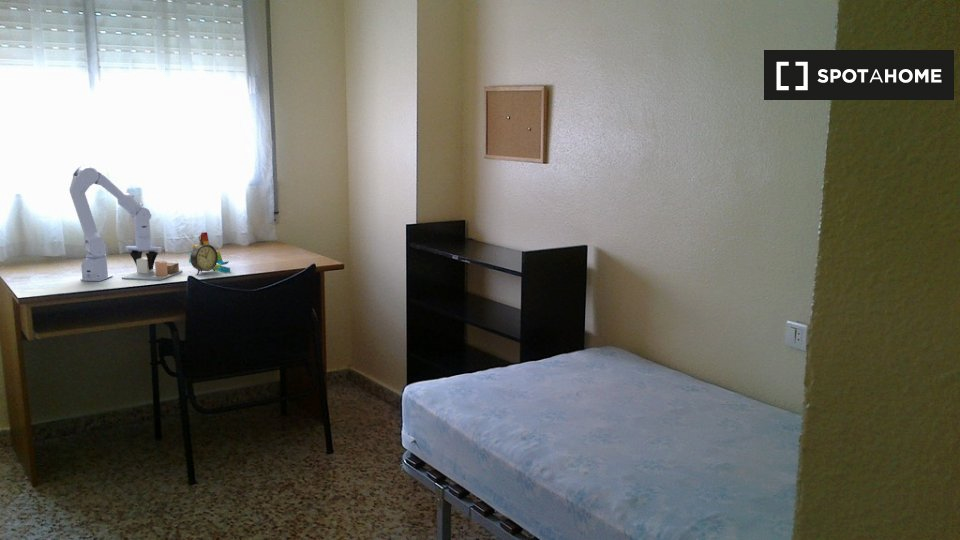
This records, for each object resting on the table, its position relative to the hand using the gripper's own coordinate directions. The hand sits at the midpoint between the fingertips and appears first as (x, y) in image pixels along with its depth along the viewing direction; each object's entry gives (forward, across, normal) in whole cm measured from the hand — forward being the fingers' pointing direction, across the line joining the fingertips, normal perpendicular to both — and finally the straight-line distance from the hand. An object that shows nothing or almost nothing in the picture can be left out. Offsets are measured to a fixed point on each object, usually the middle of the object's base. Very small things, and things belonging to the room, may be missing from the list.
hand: (145, 269), depth 321 cm
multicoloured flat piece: (+2, -19, -18) cm, 26 cm away
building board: (+2, -5, +3) cm, 6 cm away
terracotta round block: (+1, -10, +6) cm, 12 cm away
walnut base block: (+2, -10, -1) cm, 10 cm away
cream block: (+1, 0, 0) cm, 1 cm away
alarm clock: (+2, -22, -6) cm, 23 cm away
